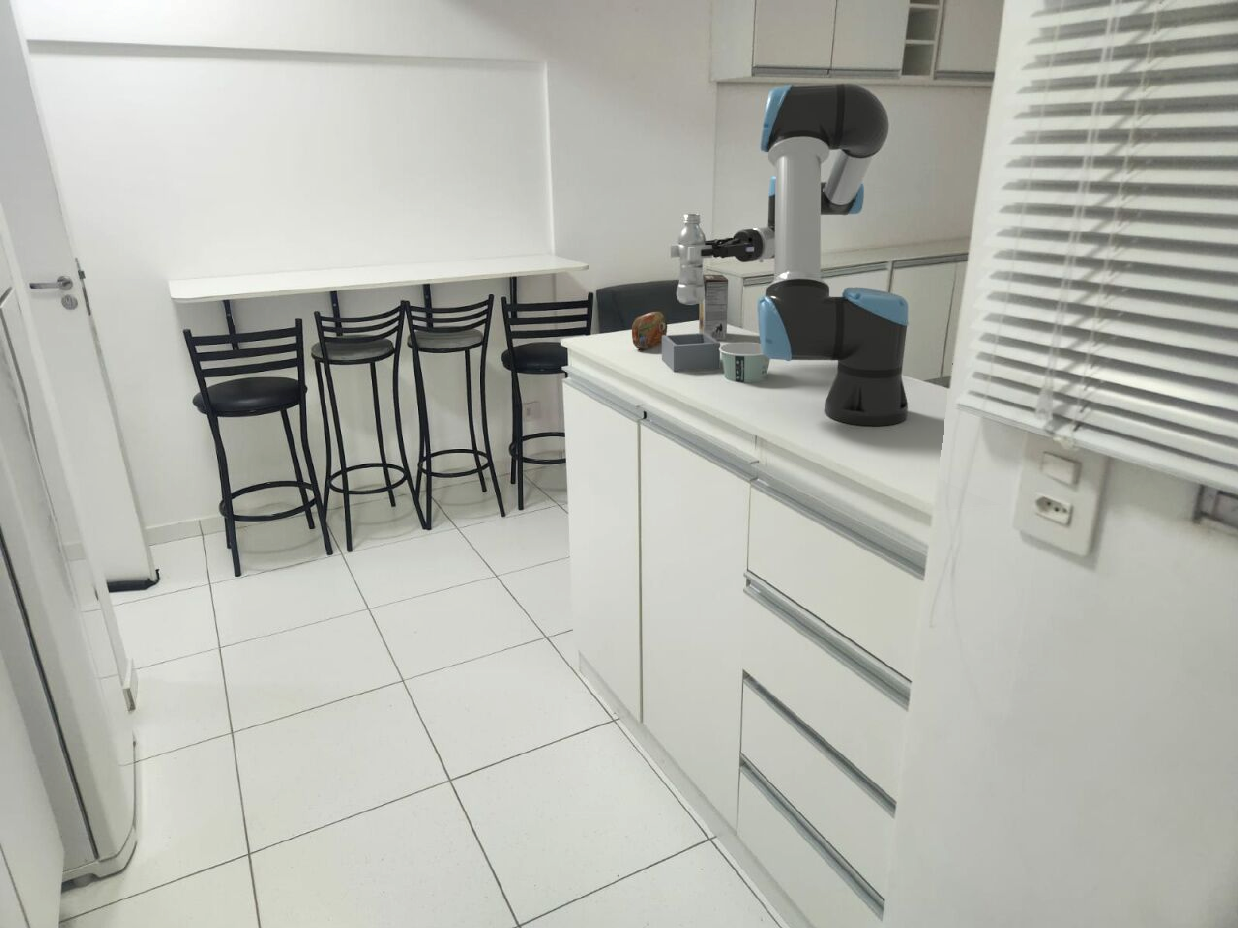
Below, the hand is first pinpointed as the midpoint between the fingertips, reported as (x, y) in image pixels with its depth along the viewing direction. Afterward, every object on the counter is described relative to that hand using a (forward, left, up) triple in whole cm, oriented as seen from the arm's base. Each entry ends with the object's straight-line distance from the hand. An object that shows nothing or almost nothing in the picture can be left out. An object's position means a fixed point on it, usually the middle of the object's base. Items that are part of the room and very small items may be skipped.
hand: (679, 252), depth 180 cm
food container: (-13, -12, -27) cm, 32 cm away
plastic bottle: (+2, -3, -12) cm, 13 cm away
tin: (+23, +2, -27) cm, 35 cm away
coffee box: (+29, -17, -27) cm, 43 cm away
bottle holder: (+1, -3, -26) cm, 26 cm away
